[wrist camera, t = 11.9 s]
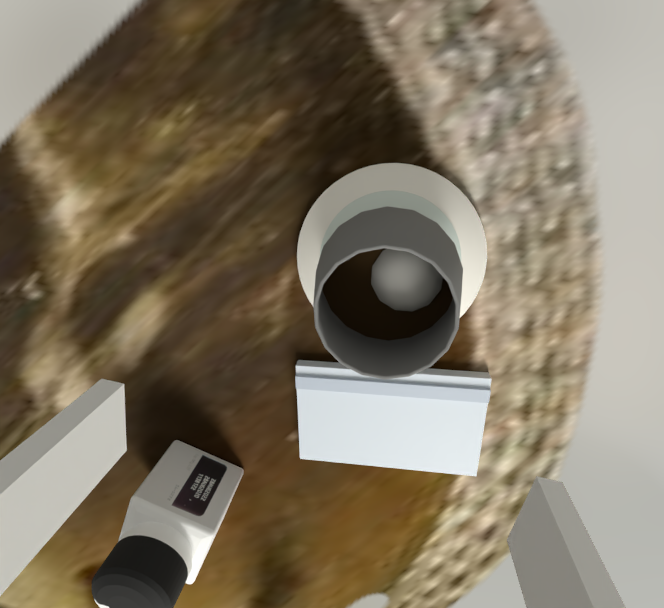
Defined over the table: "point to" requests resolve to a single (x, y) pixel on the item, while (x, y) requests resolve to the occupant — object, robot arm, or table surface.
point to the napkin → (392, 417)
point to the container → (167, 530)
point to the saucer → (401, 192)
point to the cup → (388, 293)
